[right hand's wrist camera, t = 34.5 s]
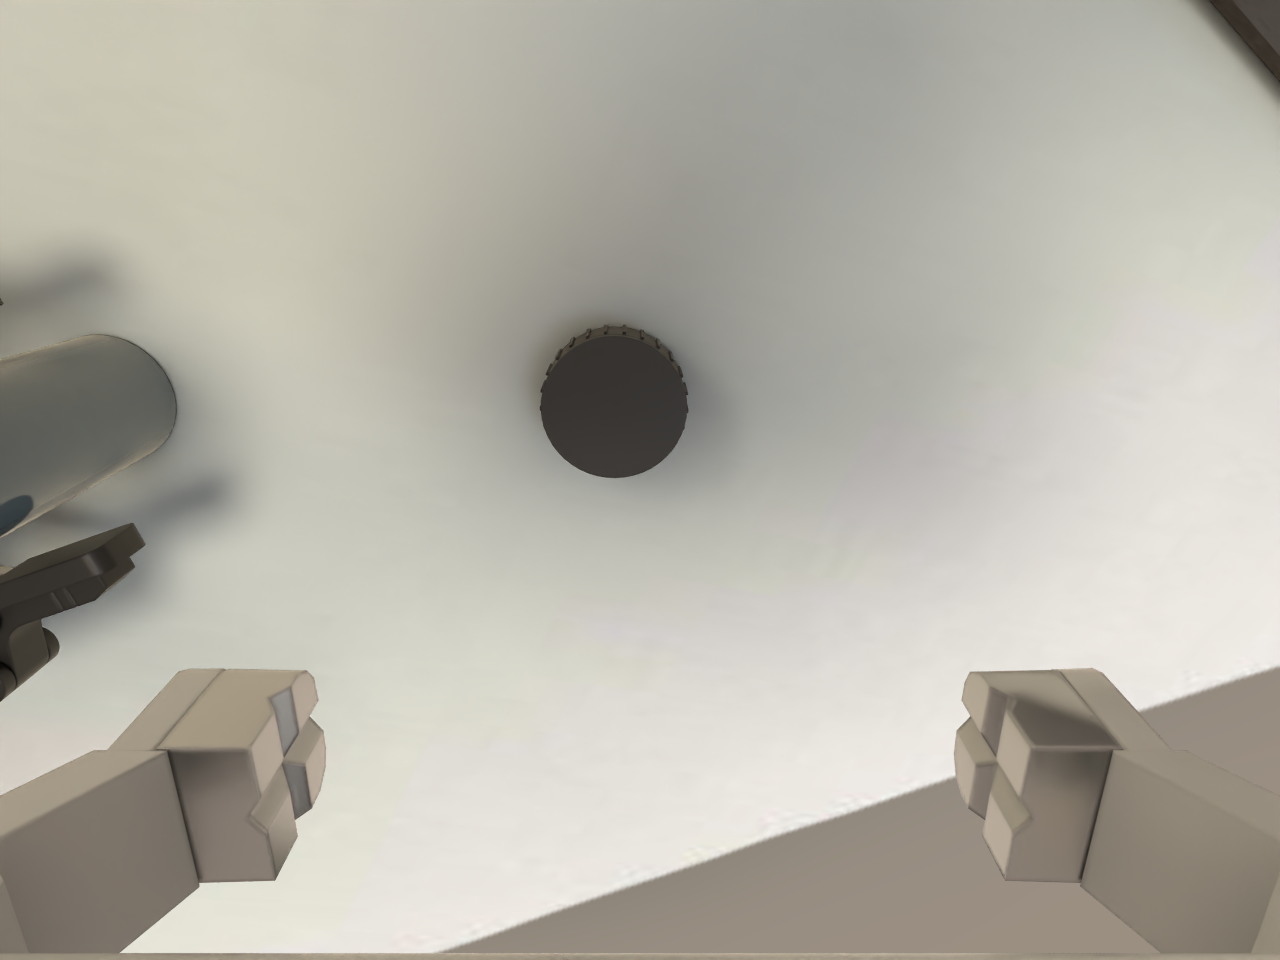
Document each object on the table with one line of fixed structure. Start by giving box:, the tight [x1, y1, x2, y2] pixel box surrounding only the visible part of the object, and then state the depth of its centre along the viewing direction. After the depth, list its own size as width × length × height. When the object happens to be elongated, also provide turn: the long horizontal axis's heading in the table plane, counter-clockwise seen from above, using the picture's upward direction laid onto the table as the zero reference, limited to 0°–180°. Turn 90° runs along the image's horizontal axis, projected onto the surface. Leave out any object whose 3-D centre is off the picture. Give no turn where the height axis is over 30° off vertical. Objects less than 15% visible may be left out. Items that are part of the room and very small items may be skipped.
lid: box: [540, 325, 688, 478], centre depth 28 cm, size 5×5×2 cm
